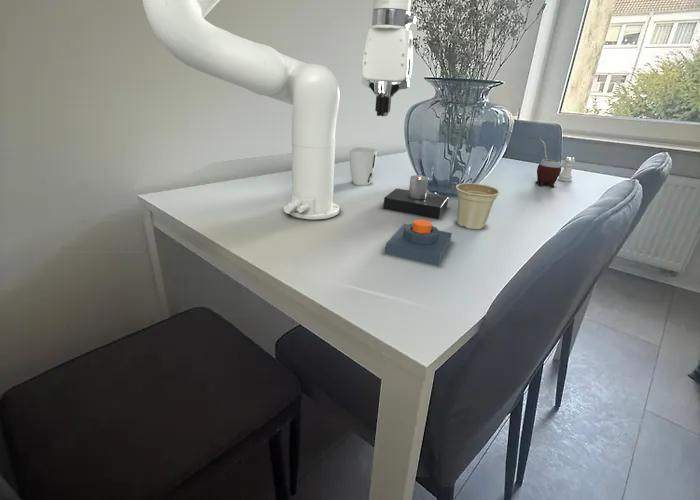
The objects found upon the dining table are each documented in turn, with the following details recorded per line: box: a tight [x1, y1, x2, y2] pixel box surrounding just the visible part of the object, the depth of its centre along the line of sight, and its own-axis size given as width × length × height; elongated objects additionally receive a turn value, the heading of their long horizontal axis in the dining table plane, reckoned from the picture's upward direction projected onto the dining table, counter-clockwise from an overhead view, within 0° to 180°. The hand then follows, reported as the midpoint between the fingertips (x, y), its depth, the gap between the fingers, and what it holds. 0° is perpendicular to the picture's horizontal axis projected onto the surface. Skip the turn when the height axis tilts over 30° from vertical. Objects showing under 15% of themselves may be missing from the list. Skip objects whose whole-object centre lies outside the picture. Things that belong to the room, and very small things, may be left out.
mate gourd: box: [535, 137, 562, 188], centre depth 127 cm, size 8×8×15 cm
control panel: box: [383, 187, 449, 220], centre depth 98 cm, size 14×10×3 cm
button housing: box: [384, 222, 453, 267], centre depth 75 cm, size 12×10×4 cm
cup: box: [349, 146, 378, 186], centre depth 117 cm, size 8×8×10 cm
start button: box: [412, 218, 433, 233], centre depth 74 cm, size 4×4×2 cm
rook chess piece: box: [557, 156, 576, 183], centre depth 136 cm, size 4×4×8 cm
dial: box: [408, 174, 430, 200], centre depth 97 cm, size 4×4×5 cm
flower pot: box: [455, 182, 501, 230], centre depth 88 cm, size 9×9×9 cm
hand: (382, 115), depth 88 cm, fingers closed
